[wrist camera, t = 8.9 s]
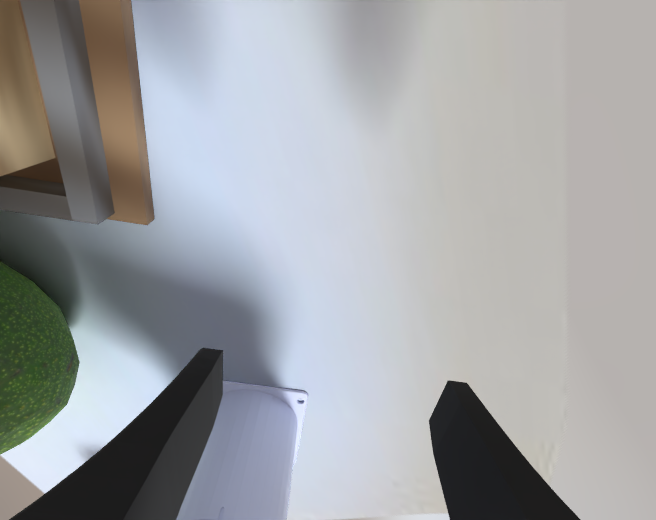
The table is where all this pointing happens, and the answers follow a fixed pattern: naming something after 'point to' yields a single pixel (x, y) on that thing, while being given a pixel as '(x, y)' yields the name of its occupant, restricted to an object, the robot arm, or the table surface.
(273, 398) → the robot arm
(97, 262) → the table surface
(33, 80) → the wooden block
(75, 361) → the fruit
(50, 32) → the channel
